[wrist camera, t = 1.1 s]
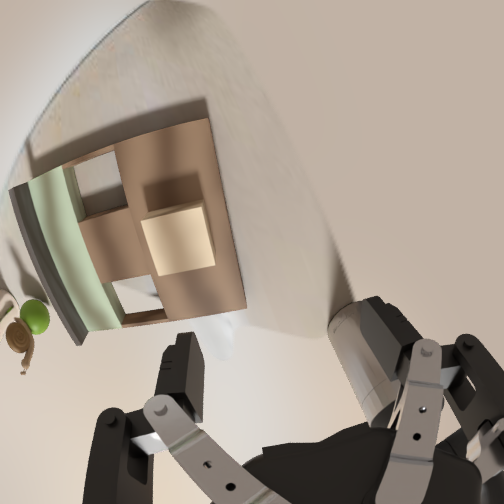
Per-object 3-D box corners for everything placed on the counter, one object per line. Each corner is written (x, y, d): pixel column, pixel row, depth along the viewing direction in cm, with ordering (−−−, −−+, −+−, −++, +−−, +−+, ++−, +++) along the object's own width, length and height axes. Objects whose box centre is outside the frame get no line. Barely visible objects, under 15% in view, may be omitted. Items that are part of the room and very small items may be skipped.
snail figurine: (45, 328, 34) (15, 376, 23) (25, 297, 31) (-12, 342, 21) (64, 322, 34) (32, 375, 23) (42, 289, 31) (2, 337, 20)
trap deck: (209, 119, 26) (206, 115, 21) (245, 297, 35) (249, 323, 30) (33, 180, 25) (8, 190, 20) (89, 321, 34) (76, 345, 29)
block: (203, 199, 27) (201, 206, 24) (216, 252, 29) (215, 265, 27) (148, 212, 27) (140, 220, 24) (163, 263, 29) (158, 276, 26)
